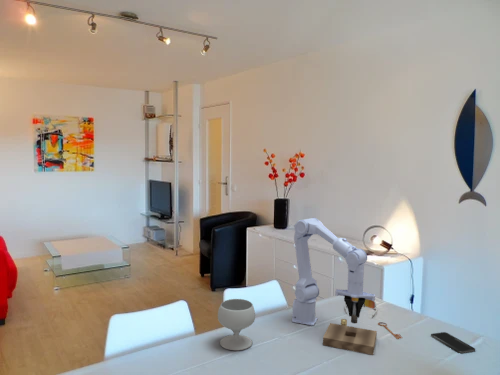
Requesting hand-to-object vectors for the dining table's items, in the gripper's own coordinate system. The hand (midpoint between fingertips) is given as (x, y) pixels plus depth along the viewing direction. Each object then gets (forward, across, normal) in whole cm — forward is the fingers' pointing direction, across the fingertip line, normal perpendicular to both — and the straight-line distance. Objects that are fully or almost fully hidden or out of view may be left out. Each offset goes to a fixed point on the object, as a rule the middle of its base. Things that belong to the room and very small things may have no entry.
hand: (354, 316), depth 150 cm
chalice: (+10, -40, -21) cm, 46 cm away
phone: (+10, +35, +12) cm, 39 cm away
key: (+10, +13, +15) cm, 22 cm away
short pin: (+9, -5, +8) cm, 13 cm away
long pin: (+2, 0, 0) cm, 2 cm away
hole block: (+9, -1, -2) cm, 10 cm away
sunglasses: (+10, -1, +31) cm, 33 cm away
